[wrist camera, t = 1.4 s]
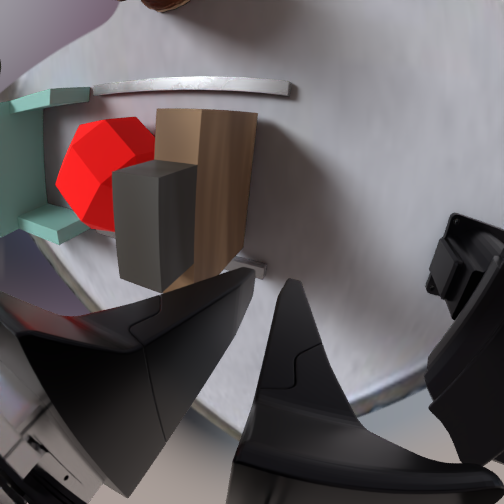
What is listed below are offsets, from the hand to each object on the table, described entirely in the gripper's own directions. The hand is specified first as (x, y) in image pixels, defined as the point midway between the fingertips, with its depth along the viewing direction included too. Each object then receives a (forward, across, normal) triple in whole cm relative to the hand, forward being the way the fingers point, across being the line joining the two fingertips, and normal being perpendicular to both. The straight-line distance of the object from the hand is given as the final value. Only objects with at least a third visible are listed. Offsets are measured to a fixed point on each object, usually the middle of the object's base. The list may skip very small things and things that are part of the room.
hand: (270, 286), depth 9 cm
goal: (+13, +27, 0) cm, 30 cm away
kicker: (+13, +6, 0) cm, 14 cm away
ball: (+13, +15, 0) cm, 20 cm away
